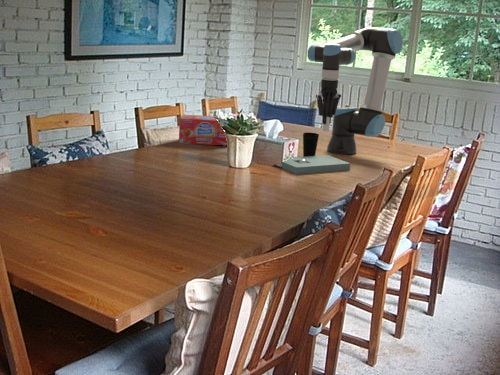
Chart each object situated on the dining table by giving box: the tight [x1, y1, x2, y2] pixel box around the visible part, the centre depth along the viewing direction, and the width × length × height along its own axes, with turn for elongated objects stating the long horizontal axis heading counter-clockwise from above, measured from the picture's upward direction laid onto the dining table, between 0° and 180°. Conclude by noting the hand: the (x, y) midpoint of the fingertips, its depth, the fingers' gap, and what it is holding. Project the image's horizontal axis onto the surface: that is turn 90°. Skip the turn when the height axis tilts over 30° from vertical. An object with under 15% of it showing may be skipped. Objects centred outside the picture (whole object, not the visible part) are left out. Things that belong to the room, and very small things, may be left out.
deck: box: [281, 154, 351, 175], centre depth 295 cm, size 30×18×3 cm, turn 120°
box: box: [178, 114, 227, 147], centre depth 334 cm, size 27×13×14 cm, turn 86°
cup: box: [302, 132, 320, 157], centre depth 313 cm, size 8×8×12 cm
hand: (325, 130), depth 295 cm, fingers closed
